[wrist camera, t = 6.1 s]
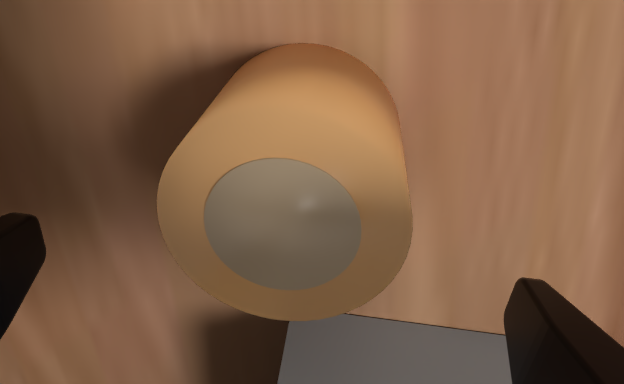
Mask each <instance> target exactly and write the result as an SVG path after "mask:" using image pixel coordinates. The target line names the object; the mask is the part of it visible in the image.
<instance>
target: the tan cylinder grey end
mask: <svg viewBox="0 0 624 384" xmlns="http://www.w3.org/2000/svg"><path fill="white" fill-rule="evenodd" d="M157 215H158V221H159V226H160V229H161V232H162V235H163V238H164V241H165V243H166V245H167V247H168V249H169V251H170V253H171V254H172V256H173V257H174V259H175V261H176V262H177V264H178V265H179V266H180V267H181V268H182V270H183V271H184V272H185V273H186V274H187V275H188V276H189V277H190V278H191V279H192V280H193V281H194V282H195V283H196V284H197V285H198V286H199V287H201V288H202V289H203V290H205V291H206V292H207V293H208V294H210V295H212V296H213V297H215V298H216V299H218V300H220V301H221V302H223V303H225V304H227V305H229V306H231V307H233V308H236V309H238V310H241V311H243V312H246V313H249V314H252V315H256V316H260V317H264V318H269V319H275V320H284V321H310V320H320V319H325V318H329V317H334V316H337V315H340V314H343V313H346V312H349V311H351V310H353V309H355V308H358V307H360V306H362V305H363V304H365V303H367V302H368V301H370V300H371V299H373V298H374V297H375V296H377V295H378V294H379V293H380V292H382V291H383V290H384V289H385V288H386V287H387V286H388V285H389V284H390V282H391V281H392V280H393V279H394V277H395V276H396V275H397V273H398V272H399V270H400V269H401V267H402V265H403V263H404V261H405V259H406V257H407V253H408V250H409V247H410V244H411V237H412V210H411V203H410V195H409V188H408V181H407V174H406V166H405V159H404V152H403V144H402V137H401V130H400V123H399V117H398V112H397V109H396V106H395V103H394V101H393V99H392V97H391V95H390V93H389V91H388V89H387V88H386V86H385V85H384V83H383V82H382V81H381V79H380V78H379V77H378V76H377V75H376V74H375V73H374V72H373V71H372V70H371V69H370V68H369V67H367V66H366V65H365V64H364V63H363V62H361V61H359V60H358V59H356V58H355V57H353V56H352V55H349V54H347V53H345V52H343V51H341V50H338V49H335V48H332V47H329V46H324V45H318V44H308V43H298V44H287V45H283V46H279V47H275V48H272V49H269V50H267V51H264V52H262V53H260V54H258V55H257V56H255V57H253V58H251V59H250V60H249V61H248V62H246V63H245V64H244V65H242V66H241V67H240V68H239V69H238V70H237V71H236V72H235V73H234V75H233V76H232V77H231V79H230V80H229V81H228V82H227V84H226V85H225V86H224V88H223V89H222V90H221V91H220V93H219V94H218V95H217V97H216V98H215V99H214V100H213V102H212V103H211V104H210V106H209V107H208V108H207V109H206V111H205V112H204V113H203V115H202V116H201V117H200V118H199V120H198V121H197V122H196V124H195V125H194V126H193V127H192V129H191V130H190V131H189V133H188V134H187V135H186V136H185V138H184V139H183V140H182V142H181V143H180V144H179V145H178V147H177V148H176V150H175V151H174V152H173V154H172V155H171V156H170V158H169V160H168V162H167V164H166V166H165V168H164V170H163V172H162V175H161V179H160V182H159V186H158V193H157Z"/></svg>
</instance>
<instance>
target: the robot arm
mask: <svg viewBox="0 0 624 384" xmlns="http://www.w3.org/2000/svg"><path fill="white" fill-rule="evenodd" d="M45 257H46V247H45V244H44V240H43V236H42V232H41V228H40V224H39V221H38V219H37V218H36V216H34V215H31V214H23V213H9V214H6V215H4V216H1V217H0V339H1V338H2V336H3V335H4V333H5V332H6V330H7V328H8V327H9V325H10V323H11V322H12V320H13V318H14V316H15V314H16V313H17V311H18V309H19V307H20V305H21V303H22V302H23V300H24V298H25V296H26V294H27V292H28V291H29V289H30V287H31V285H32V283H33V281H34V279H35V278H36V276H37V274H38V272H39V270H40V268H41V267H42V265H43V263H44V260H45ZM504 328H505V335H506V343H507V350H508V358H509V365H510V373H511V380H512V384H624V348H623V347H622V346H621V345H620V344H619V343H618V342H616V341H615V340H614V339H613V338H612V337H610V336H609V335H608V334H607V333H606V332H604V331H603V330H602V329H601V328H600V327H599V326H597V325H596V324H595V323H594V322H593V321H591V320H590V319H589V318H588V317H587V316H585V315H584V314H583V313H582V312H581V311H579V310H578V309H577V308H576V307H575V306H574V305H572V304H571V303H570V302H569V301H568V300H566V299H565V298H564V297H563V296H562V295H560V294H559V293H558V292H557V291H556V290H555V289H553V288H552V287H551V286H550V285H549V284H547V283H546V282H545V281H543V280H540V279H532V278H524V277H522V278H520V279H518V280H517V282H516V283H515V286H514V288H513V291H512V293H511V296H510V298H509V301H508V304H507V306H506V309H505V312H504Z"/></svg>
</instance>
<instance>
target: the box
mask: <svg viewBox="0 0 624 384" xmlns="http://www.w3.org/2000/svg"><path fill="white" fill-rule="evenodd" d="M277 384H512V380H511V373H510V365H509V358H508V350H507V343H506V336H504V335H497V334H489V333H482V332H475V331H467V330H460V329H452V328H445V327H437V326H430V325H422V324H415V323H407V322H400V321H393V320H385V319H378V318H370V317H363V316H355V315H348V314H340V315H337V316H334V317H329V318H325V319H320V320H310V321H289V326H288V331H287V336H286V341H285V346H284V352H283V357H282V362H281V367H280V373H279V378H278V383H277Z"/></svg>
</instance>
